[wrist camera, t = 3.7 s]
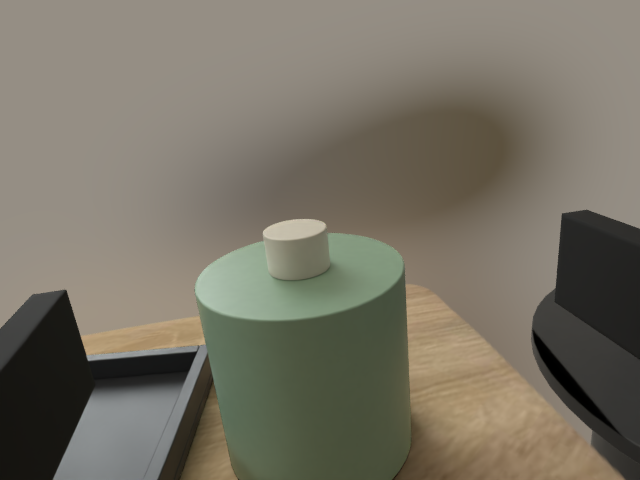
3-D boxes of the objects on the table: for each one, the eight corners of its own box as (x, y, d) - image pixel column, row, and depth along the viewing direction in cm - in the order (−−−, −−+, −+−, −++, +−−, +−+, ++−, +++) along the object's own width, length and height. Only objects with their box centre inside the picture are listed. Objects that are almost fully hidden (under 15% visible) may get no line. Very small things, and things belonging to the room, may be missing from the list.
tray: (216, 369, 32) (211, 343, 32) (111, 679, 16) (96, 640, 15) (-29, 391, 33) (-40, 366, 32) (-377, 712, 16) (-415, 676, 16)
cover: (395, 370, 30) (386, 192, 26) (430, 503, 21) (424, 258, 17) (244, 383, 31) (212, 209, 27) (211, 520, 21) (154, 284, 17)
